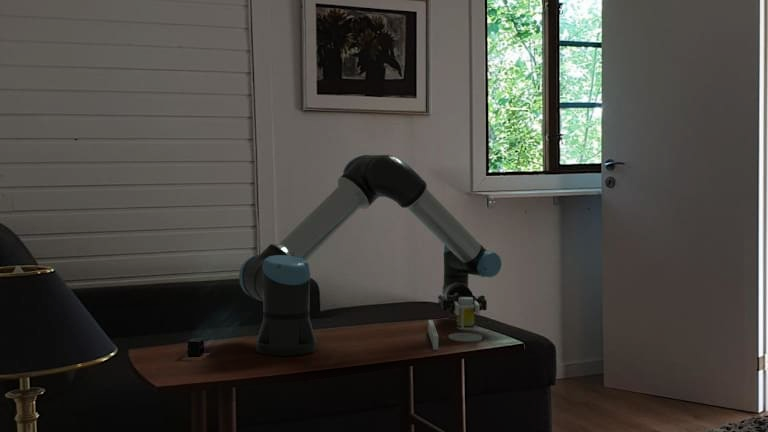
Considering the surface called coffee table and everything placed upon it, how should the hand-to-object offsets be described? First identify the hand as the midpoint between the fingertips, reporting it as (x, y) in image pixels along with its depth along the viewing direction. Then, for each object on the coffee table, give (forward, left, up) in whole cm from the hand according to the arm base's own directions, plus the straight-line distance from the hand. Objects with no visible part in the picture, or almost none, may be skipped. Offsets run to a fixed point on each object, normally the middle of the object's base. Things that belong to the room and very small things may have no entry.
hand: (467, 310), depth 211 cm
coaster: (0, +5, -9) cm, 10 cm away
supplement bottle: (0, +5, -6) cm, 8 cm away
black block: (-68, -17, -9) cm, 71 cm away
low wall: (-9, +2, -9) cm, 13 cm away
